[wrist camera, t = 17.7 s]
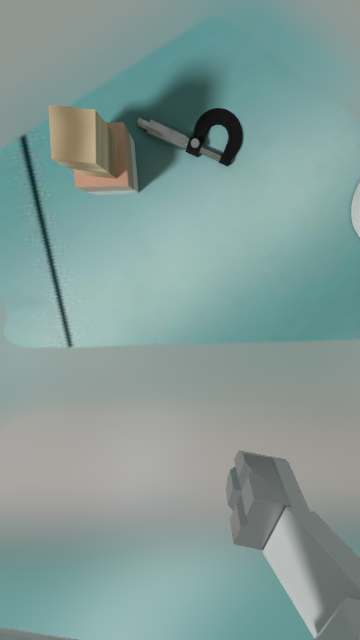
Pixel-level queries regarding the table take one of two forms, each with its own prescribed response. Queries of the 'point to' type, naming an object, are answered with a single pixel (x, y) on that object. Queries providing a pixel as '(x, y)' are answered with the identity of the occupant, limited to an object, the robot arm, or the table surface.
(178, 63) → the table surface
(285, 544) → the robot arm
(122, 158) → the terracotta tower block
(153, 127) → the micrometer
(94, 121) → the oak block
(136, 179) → the off-white tower block
